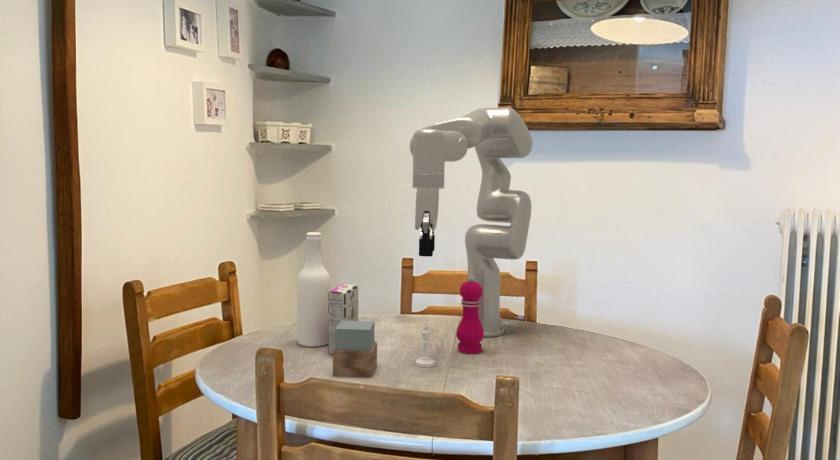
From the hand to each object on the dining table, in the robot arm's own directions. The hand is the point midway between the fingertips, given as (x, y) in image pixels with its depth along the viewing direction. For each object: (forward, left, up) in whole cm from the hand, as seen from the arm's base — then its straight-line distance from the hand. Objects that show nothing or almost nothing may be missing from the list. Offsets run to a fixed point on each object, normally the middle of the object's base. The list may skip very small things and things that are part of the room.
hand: (426, 253), depth 155 cm
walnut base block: (+16, +7, -27) cm, 32 cm away
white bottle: (+31, -15, -27) cm, 44 cm away
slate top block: (+16, +7, -21) cm, 28 cm away
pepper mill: (-11, -13, -27) cm, 32 cm away
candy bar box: (+22, -10, -27) cm, 37 cm away
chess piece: (0, 0, -27) cm, 27 cm away
